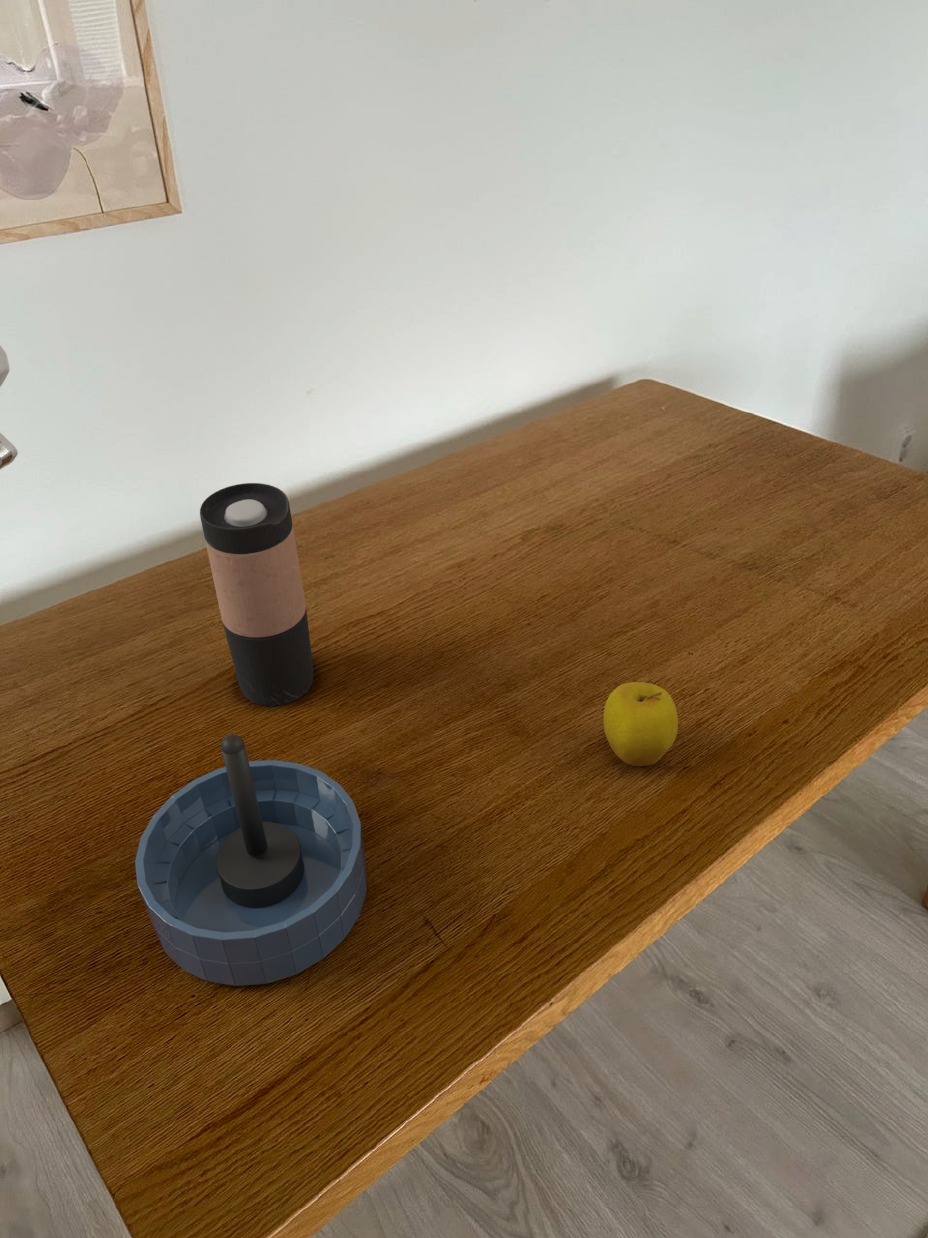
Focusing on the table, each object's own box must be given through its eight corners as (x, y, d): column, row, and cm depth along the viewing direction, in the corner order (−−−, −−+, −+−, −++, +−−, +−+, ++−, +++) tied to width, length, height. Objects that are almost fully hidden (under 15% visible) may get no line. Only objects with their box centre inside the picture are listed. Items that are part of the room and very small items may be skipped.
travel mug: (230, 666, 97) (191, 492, 84) (306, 647, 99) (279, 474, 86) (245, 717, 91) (205, 538, 79) (325, 696, 93) (299, 518, 81)
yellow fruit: (684, 774, 85) (696, 707, 80) (613, 786, 84) (621, 719, 79) (658, 723, 89) (667, 657, 85) (591, 734, 89) (596, 668, 84)
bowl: (248, 1037, 67) (232, 984, 63) (112, 906, 75) (90, 853, 71) (410, 884, 76) (406, 830, 72) (274, 783, 85) (262, 730, 81)
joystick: (257, 923, 73) (223, 787, 63) (204, 877, 76) (163, 742, 67) (321, 869, 77) (297, 733, 67) (267, 827, 80) (237, 692, 70)
